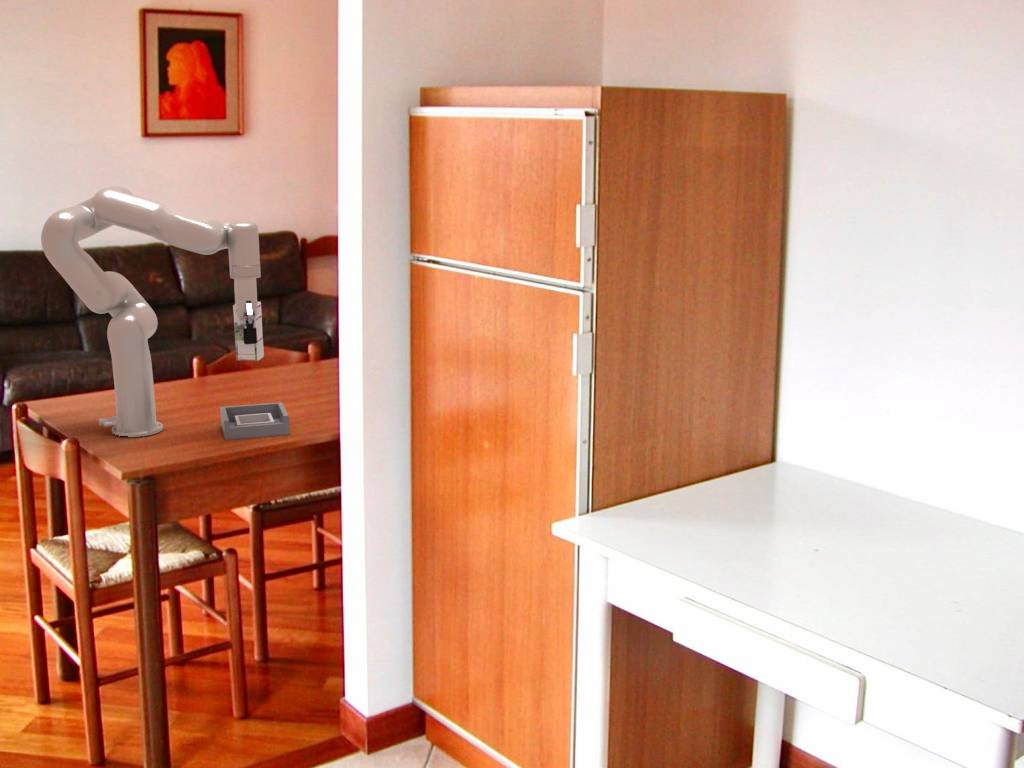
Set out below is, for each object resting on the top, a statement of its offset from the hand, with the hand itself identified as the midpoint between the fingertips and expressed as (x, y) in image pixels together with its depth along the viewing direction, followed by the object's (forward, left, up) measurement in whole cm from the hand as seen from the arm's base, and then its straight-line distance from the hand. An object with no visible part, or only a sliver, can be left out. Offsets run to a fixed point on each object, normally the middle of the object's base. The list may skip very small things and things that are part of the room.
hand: (249, 340), depth 299 cm
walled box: (0, 0, -24) cm, 24 cm away
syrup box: (0, 0, -5) cm, 5 cm away
